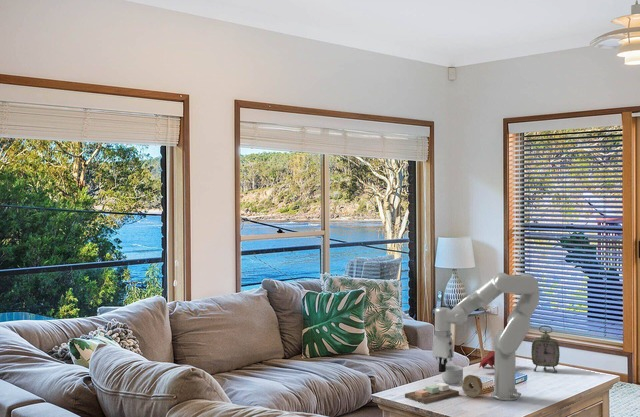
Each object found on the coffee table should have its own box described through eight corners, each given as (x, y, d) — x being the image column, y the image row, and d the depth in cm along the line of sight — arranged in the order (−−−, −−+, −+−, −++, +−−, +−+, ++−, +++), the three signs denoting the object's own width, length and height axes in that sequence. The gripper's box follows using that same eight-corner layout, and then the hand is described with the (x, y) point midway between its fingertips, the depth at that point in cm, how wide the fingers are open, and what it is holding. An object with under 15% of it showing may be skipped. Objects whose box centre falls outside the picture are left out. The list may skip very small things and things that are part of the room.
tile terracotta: (428, 397, 326) (428, 391, 326) (421, 398, 324) (421, 393, 324) (421, 394, 330) (421, 389, 330) (414, 396, 327) (414, 391, 327)
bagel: (484, 397, 329) (484, 376, 329) (479, 399, 327) (480, 377, 327) (465, 393, 337) (465, 372, 337) (461, 394, 334) (461, 373, 334)
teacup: (456, 387, 347) (457, 371, 347) (437, 383, 354) (437, 367, 354) (469, 381, 358) (469, 365, 358) (449, 378, 365) (450, 362, 365)
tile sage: (438, 392, 330) (438, 387, 330) (432, 393, 328) (432, 388, 328) (431, 390, 334) (432, 384, 334) (425, 391, 331) (425, 386, 331)
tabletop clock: (531, 371, 379) (531, 326, 379) (531, 368, 388) (531, 323, 387) (559, 374, 375) (560, 327, 374) (558, 370, 384) (559, 324, 383)
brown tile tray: (458, 394, 333) (458, 391, 333) (423, 403, 319) (423, 399, 319) (440, 389, 343) (440, 385, 343) (404, 397, 328) (404, 393, 328)
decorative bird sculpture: (475, 381, 375) (491, 364, 368) (464, 367, 380) (480, 350, 373) (504, 372, 394) (520, 356, 387) (494, 359, 399) (510, 342, 392)
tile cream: (448, 389, 335) (448, 384, 335) (442, 391, 332) (442, 386, 332) (442, 387, 338) (442, 382, 338) (435, 389, 336) (435, 384, 335)
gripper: (459, 335, 331) (459, 373, 331) (436, 330, 343) (436, 367, 343) (449, 337, 326) (448, 376, 327) (425, 332, 338) (425, 369, 338)
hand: (442, 371), depth 335 cm, fingers closed
